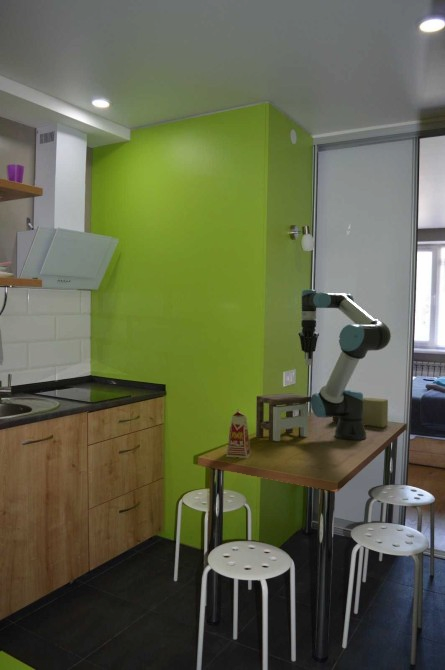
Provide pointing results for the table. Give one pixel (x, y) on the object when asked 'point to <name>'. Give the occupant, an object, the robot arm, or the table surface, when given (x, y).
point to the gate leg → (290, 419)
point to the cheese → (375, 412)
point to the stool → (272, 401)
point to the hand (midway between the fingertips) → (308, 365)
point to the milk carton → (238, 437)
